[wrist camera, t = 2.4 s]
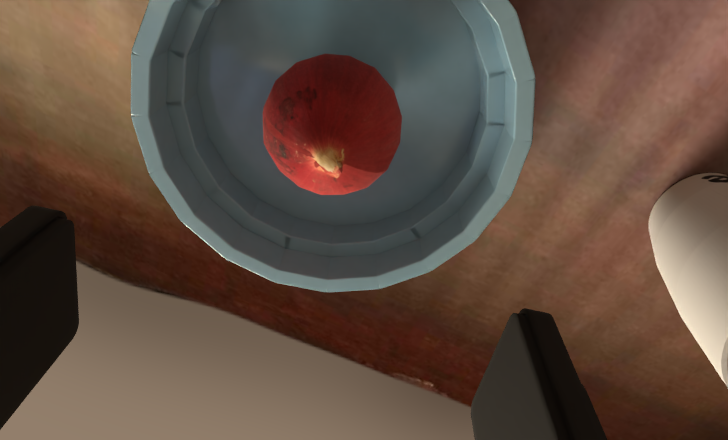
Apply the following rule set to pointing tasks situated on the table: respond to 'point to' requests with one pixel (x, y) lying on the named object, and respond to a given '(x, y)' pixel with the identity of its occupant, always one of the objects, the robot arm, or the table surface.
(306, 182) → the onion
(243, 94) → the pan
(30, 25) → the table surface
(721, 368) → the cup
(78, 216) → the table surface
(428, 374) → the table surface
